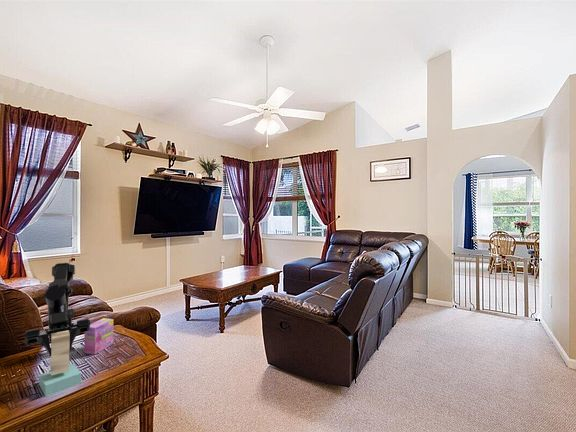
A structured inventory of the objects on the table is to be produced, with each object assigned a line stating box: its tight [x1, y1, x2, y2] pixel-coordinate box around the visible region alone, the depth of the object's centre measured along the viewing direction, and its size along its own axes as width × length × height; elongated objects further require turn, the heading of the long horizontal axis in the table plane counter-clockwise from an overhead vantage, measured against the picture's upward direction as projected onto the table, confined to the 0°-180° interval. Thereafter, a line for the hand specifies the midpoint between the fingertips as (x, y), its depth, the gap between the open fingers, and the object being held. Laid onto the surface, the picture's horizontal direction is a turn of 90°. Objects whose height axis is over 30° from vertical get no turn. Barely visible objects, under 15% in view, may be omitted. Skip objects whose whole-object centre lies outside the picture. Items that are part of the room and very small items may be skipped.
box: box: [84, 317, 114, 355], centre depth 132 cm, size 10×6×12 cm, turn 168°
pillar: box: [50, 330, 70, 376], centre depth 105 cm, size 5×5×13 cm
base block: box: [38, 363, 82, 397], centre depth 105 cm, size 10×10×4 cm
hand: (60, 353), depth 104 cm, fingers closed on pillar, 5 cm apart
